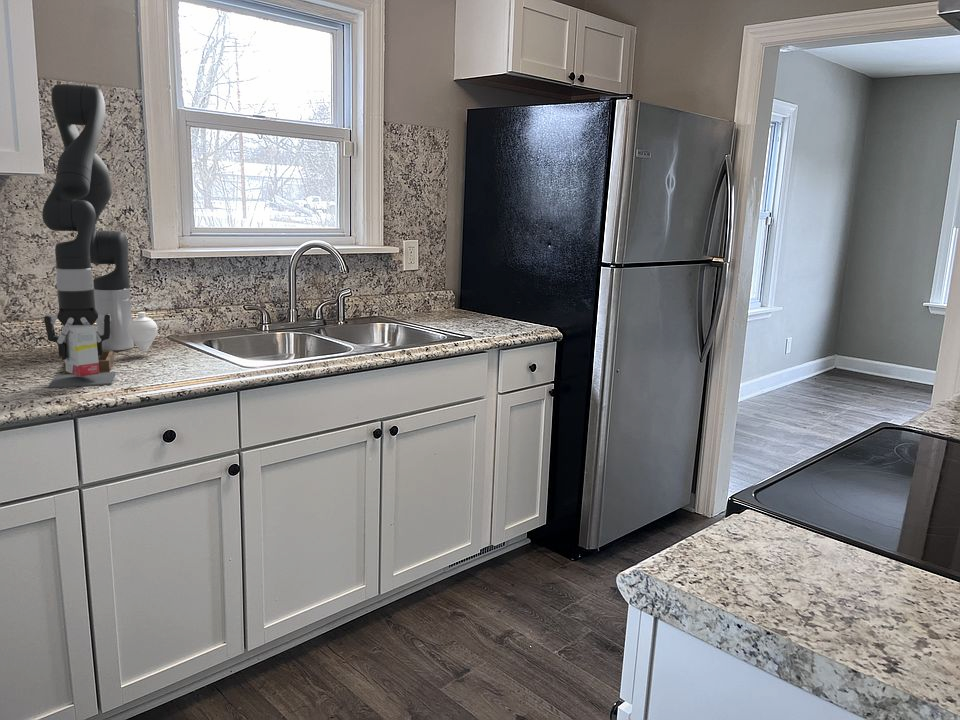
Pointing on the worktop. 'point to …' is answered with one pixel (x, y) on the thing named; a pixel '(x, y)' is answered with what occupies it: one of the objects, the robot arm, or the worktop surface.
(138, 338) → the spinning top
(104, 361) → the holder box
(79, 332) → the ink box
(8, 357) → the worktop surface
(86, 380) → the rubber mat
